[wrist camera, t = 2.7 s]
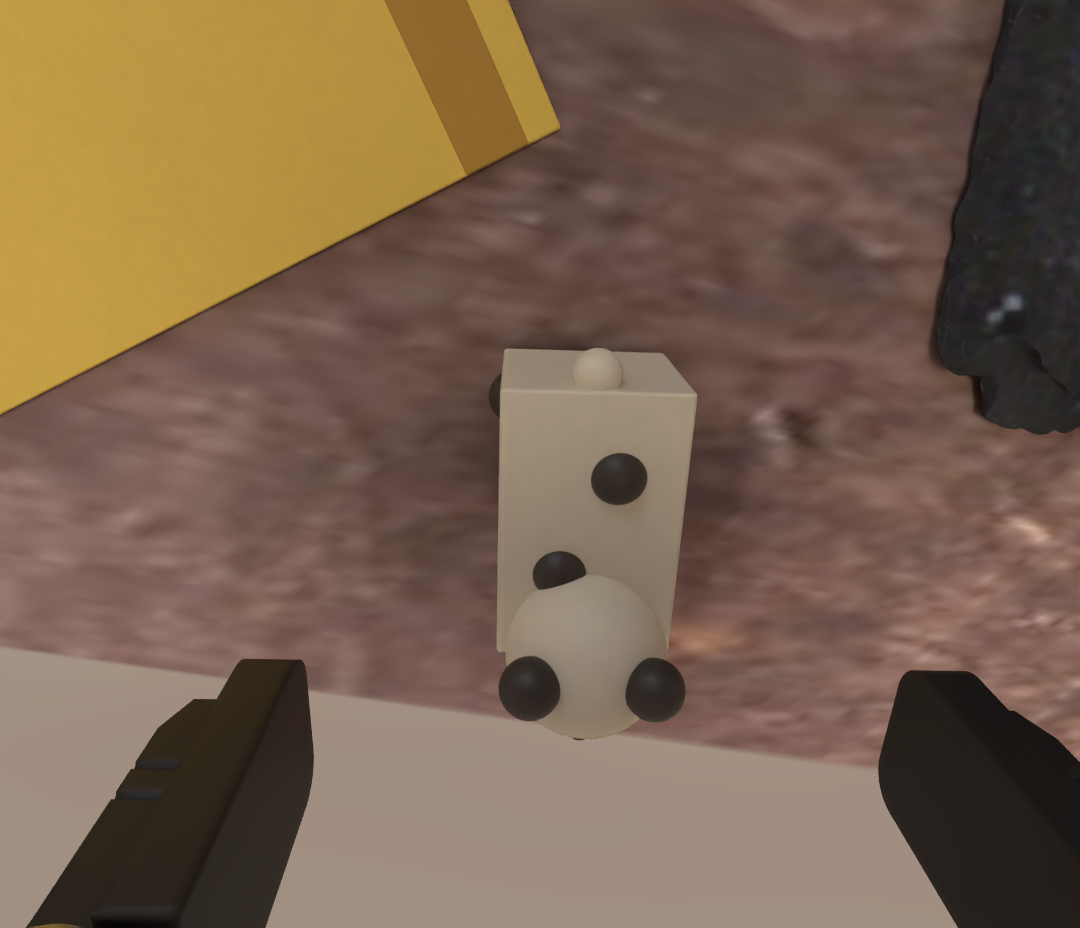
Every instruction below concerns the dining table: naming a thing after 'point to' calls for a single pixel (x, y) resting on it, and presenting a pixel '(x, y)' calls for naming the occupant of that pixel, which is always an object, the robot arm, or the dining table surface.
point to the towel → (224, 150)
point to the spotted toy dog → (590, 535)
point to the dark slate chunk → (1022, 229)
